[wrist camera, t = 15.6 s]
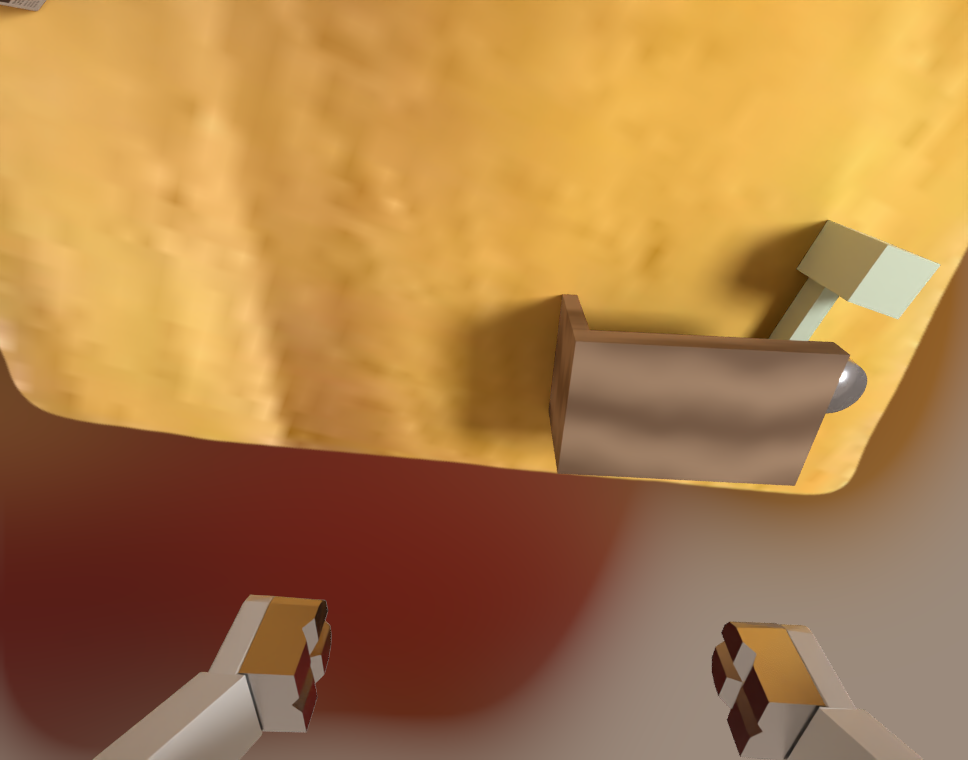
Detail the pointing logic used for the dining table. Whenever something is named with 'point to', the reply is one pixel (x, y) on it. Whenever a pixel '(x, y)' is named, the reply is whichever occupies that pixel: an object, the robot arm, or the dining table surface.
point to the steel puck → (848, 387)
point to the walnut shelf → (686, 403)
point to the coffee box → (24, 4)
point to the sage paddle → (852, 279)
